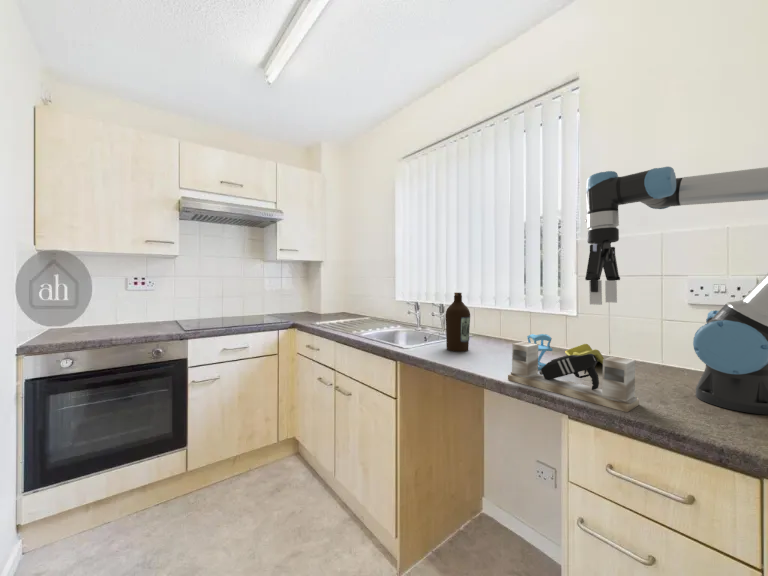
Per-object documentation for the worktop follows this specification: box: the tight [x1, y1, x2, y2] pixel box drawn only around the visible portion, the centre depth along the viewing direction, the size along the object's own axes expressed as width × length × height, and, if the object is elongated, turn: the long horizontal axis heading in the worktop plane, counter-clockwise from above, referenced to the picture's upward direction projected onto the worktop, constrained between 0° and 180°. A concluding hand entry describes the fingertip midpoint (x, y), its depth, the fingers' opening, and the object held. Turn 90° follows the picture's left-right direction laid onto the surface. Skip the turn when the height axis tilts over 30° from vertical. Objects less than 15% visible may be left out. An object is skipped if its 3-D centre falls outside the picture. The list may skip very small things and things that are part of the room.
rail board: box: [507, 341, 640, 413], centre depth 92 cm, size 31×8×11 cm, turn 37°
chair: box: [526, 333, 553, 371], centre depth 118 cm, size 8×8×12 cm
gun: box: [538, 354, 600, 390], centre depth 92 cm, size 3×16×10 cm, turn 37°
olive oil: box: [445, 292, 471, 353], centre depth 146 cm, size 11×11×25 cm
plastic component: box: [564, 343, 605, 365], centre depth 123 cm, size 20×7×10 cm
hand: (603, 303), depth 95 cm, fingers open, 13 cm apart
